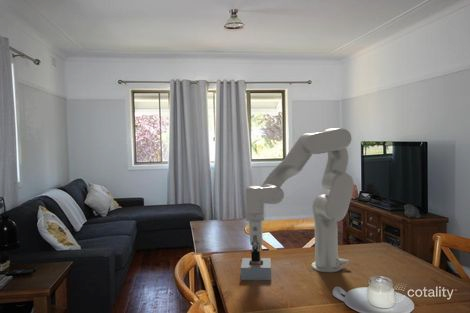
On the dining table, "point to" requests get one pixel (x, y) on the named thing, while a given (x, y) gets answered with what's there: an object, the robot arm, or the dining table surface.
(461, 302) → the dining table surface
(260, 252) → the peg
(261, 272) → the socket block
